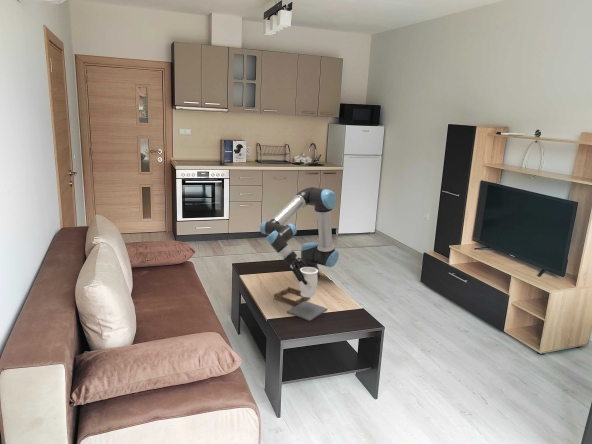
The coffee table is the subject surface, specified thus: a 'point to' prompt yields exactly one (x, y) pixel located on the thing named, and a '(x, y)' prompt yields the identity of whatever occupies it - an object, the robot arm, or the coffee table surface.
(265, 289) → the coffee table surface
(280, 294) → the collar
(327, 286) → the coffee table surface
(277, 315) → the coffee table surface
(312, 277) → the jar
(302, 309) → the board
